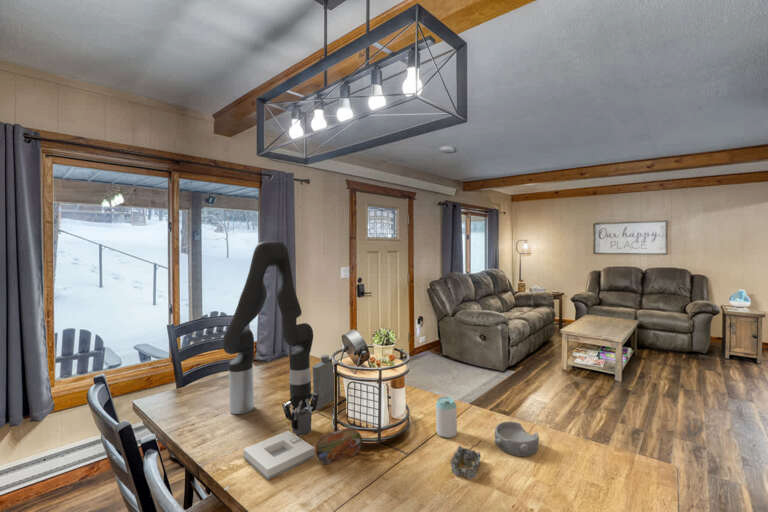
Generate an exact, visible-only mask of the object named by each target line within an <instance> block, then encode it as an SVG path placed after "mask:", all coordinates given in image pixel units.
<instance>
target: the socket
mask: <svg viewBox="0 0 768 512" xmlns="http://www.w3.org/2000/svg"><path fill="white" fill-rule="evenodd" d="M242 449H243V451H242V452H243V459H244V460H245V461H246V460H247V461H246V462H247V463H248V462H249V463H248V464H249V465H251V466H252V467H253V468H254V469H255V470H256V471H257V472H258V473H260V475H262V477H264V478H265V479H266V480H267V481H269V480H271V479H273V478H274V477H277V476H279V475H281V474H283V473H285V472H287V471H289V470H291V469H293V468H295V467H297V466H299V465H301V464H303V463H305V462H308V461H309V460H311V459H314V458H315V457H316V454H315V446H312V445H311V444H310V443H308V442H307V441H306V440H303V439H302V438H301V436H298V435H297V434H295V433H294V432H291V431H290V430H285V431H283V432H281V433H279V434H277V435H273V436H271V437H269V438H267V439H264V440H261V441H259V442H257V443H254V444H252V445H249V446H247V447H244V448H242Z"/></svg>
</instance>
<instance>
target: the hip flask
mask: <svg viewBox="0 0 768 512" xmlns="http://www.w3.org/2000/svg"><path fill="white" fill-rule="evenodd" d="M320 359H321V361H319V362H317V363H316V364H313V365H312V391H313V392H312V393H316V394H318V401H317V407H316V410H315V411H318V410H317V409H320V410H321V409H323V408H324V407H325V406H327V405H328V404H330V403H332V402H333V401H335V400H334V373H333V365H332V357H330V355H329V354H322V355H321V356H320ZM339 396H340V397H341V377H339V376H338V399H340V398H339ZM332 400H333V401H332ZM329 402H330V403H329ZM327 403H328V404H327ZM326 404H327V405H326ZM324 405H325V406H324ZM323 406H324V407H323ZM322 407H323V408H322Z"/></svg>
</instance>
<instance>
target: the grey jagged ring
mask: <svg viewBox="0 0 768 512" xmlns="http://www.w3.org/2000/svg"><path fill="white" fill-rule="evenodd" d="M481 456H482V455H481V452H476V450H475V449H473V450H471V449H469V448H464V447H463V446H460V445H459V446H458V447H457V450H456V451H455V453H454V454H453V456H452V458H451V459H450V461H449V462H450V467H451V473H453V474H454V475H455V477H460V476H464V477H466V480H471V479H475V478H476V477H477V472H478V469H479V466H480V464H481V458H482V457H481ZM462 458H463V466H464V467H466V468H464V467H463V468H462V467H458V466H459V465H460V464H461V459H462ZM473 461H474V463H472V462H473Z"/></svg>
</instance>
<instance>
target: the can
mask: <svg viewBox="0 0 768 512" xmlns="http://www.w3.org/2000/svg"><path fill="white" fill-rule="evenodd" d="M457 412H458V411H457V403H456V402H455V399H454V398H452V397H450V396H449V397H448V396H442V397H439V398H438V399H437V402H436V403H435V413H436V414H435V415H436V416H435V418H436V419H435V420H436V423H435V425H436V433H437V435H438V436H440V437H441V436H442V438H443V439H444V438H445V439H450V438H451V439H452V438H453V437H455V436H457V434H458V427H457V426H458V424H457V423H458V421H457V419H458V417H457V415H458V414H457Z"/></svg>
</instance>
